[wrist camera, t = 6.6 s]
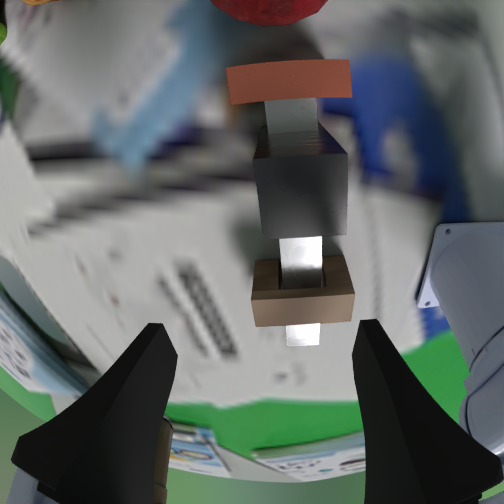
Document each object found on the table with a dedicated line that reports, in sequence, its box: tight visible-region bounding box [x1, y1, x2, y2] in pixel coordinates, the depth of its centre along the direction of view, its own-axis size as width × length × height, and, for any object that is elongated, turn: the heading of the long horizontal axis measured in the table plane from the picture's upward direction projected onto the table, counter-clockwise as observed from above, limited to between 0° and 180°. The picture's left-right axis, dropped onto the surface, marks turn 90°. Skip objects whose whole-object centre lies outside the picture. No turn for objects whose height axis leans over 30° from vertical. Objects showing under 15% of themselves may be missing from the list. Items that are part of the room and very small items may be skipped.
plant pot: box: [153, 419, 173, 504], centre depth 35 cm, size 16×16×16 cm
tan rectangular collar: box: [251, 255, 355, 327], centre depth 19 cm, size 6×2×4 cm, turn 97°
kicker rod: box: [226, 59, 352, 346], centre depth 15 cm, size 5×19×7 cm, turn 7°
